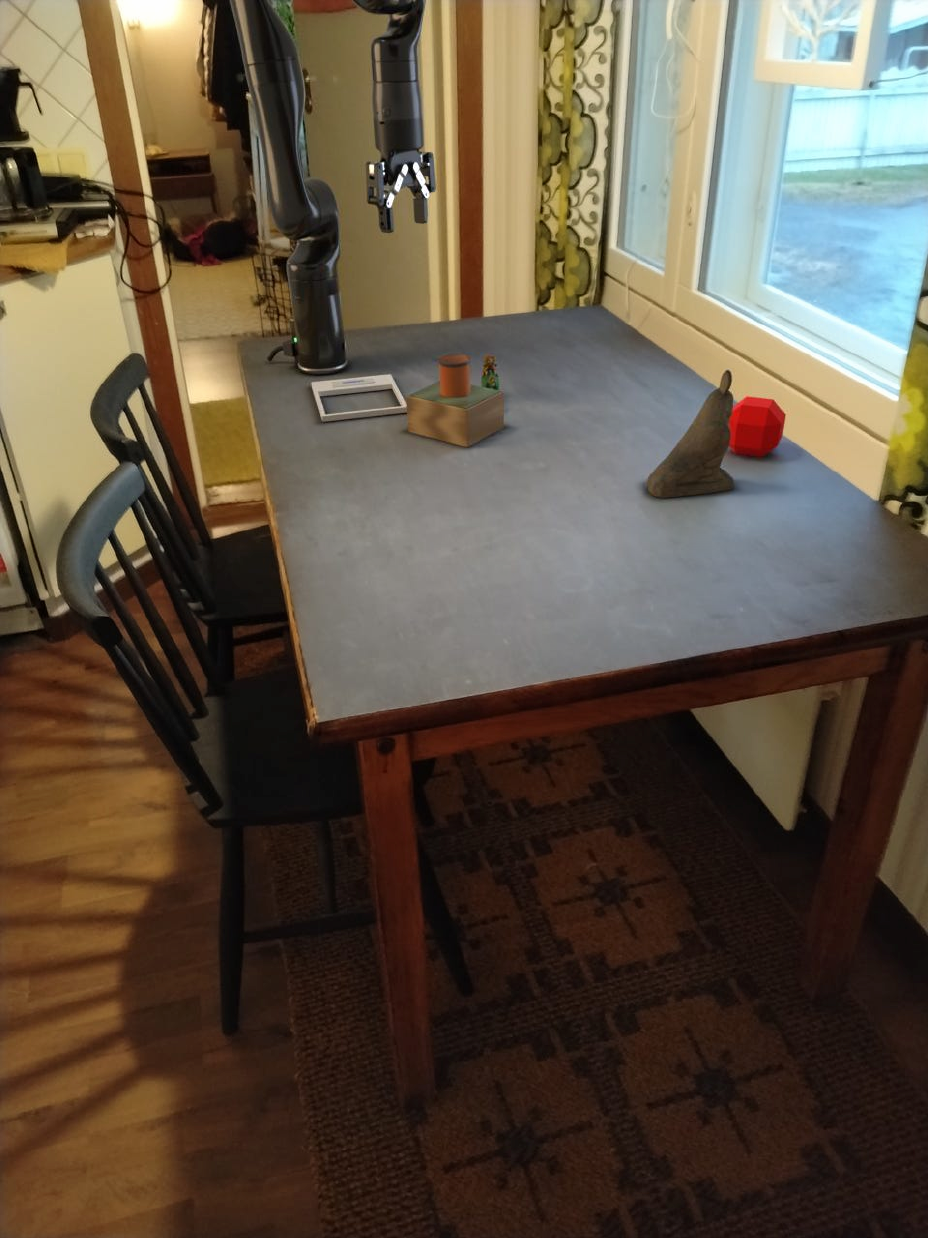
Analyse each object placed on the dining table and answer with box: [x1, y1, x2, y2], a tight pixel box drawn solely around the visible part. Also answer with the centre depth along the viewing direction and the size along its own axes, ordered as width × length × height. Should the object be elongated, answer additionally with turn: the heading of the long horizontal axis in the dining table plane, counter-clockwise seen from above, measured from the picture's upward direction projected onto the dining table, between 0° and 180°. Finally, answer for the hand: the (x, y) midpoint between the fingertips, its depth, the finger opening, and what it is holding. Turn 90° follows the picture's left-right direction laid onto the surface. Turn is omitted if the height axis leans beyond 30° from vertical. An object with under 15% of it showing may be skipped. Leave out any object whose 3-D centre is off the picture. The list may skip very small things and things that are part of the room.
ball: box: [729, 395, 787, 458], centre depth 143 cm, size 8×8×8 cm
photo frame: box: [311, 373, 407, 422], centre depth 168 cm, size 15×1×18 cm
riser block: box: [405, 380, 505, 448], centre depth 154 cm, size 12×10×6 cm
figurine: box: [480, 354, 500, 391], centre depth 164 cm, size 3×12×8 cm, turn 5°
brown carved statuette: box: [646, 369, 735, 499], centre depth 131 cm, size 12×6×18 cm, turn 97°
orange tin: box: [438, 353, 471, 398], centre depth 151 cm, size 5×5×5 cm
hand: (404, 227), depth 155 cm, fingers open, 8 cm apart
